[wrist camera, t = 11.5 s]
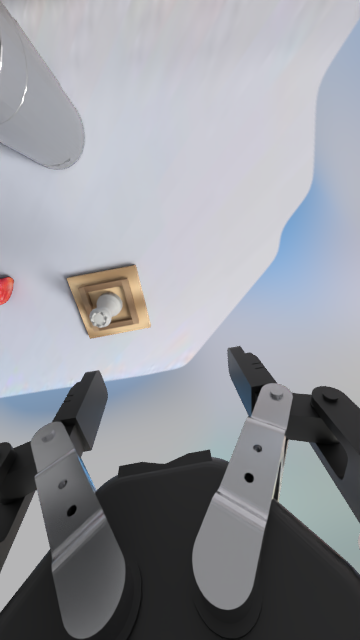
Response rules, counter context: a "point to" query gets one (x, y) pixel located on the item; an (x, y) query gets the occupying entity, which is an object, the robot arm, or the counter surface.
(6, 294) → the fruit
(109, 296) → the rook chess piece
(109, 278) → the display stand
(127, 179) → the counter surface
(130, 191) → the counter surface
